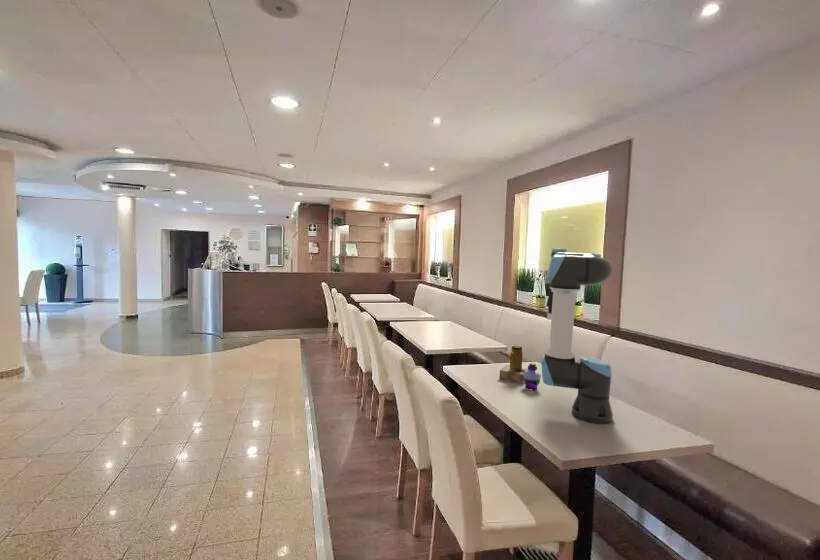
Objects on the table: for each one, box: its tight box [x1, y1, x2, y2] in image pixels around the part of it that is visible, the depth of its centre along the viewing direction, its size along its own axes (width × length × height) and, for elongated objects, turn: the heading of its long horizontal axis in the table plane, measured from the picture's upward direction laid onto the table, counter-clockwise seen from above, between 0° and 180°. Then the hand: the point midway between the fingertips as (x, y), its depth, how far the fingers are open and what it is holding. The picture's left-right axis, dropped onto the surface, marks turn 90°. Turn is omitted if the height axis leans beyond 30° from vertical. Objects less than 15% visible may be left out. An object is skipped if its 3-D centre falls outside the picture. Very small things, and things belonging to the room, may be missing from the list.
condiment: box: [509, 345, 526, 372], centre depth 204 cm, size 7×8×12 cm
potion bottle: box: [523, 362, 542, 390], centre depth 190 cm, size 9×9×12 cm
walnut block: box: [499, 364, 529, 384], centre depth 205 cm, size 12×12×5 cm
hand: (554, 318), depth 207 cm, fingers open, 13 cm apart
